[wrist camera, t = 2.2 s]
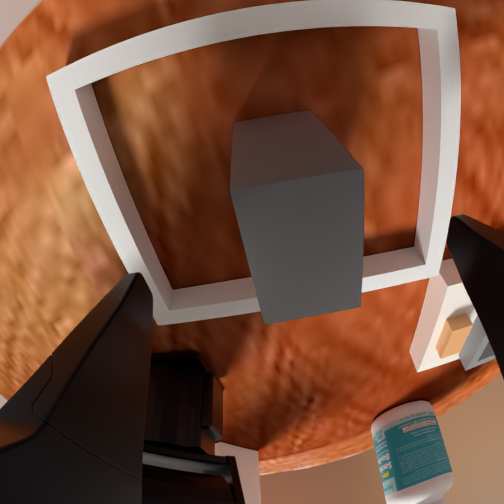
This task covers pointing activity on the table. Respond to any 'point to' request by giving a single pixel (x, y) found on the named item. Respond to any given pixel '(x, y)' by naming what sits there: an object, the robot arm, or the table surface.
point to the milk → (244, 469)
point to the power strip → (449, 325)
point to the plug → (298, 215)
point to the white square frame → (245, 25)
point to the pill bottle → (412, 455)
